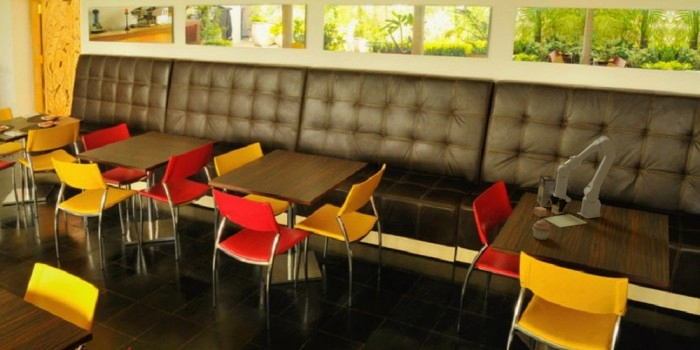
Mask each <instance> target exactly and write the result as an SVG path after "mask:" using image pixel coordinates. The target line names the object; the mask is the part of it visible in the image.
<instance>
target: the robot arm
mask: <svg viewBox="0 0 700 350" xmlns="http://www.w3.org/2000/svg"><path fill="white" fill-rule="evenodd" d="M594 152H603V154H604V156H603V158H602V160H601V162H600V164H599V166H598V168H597V170H596V172H595V173H594V176H593V177H592V180H591V181H590V182H589V183H588V185H587V186H586V187H584V189H583V190H582V191H583V194H584V196H583V197H582V203H581V209H580V211H579V212H577V213H576V214H577V215H579V216H581V217H583V218H586V219H591V218H592V219H593V218H600V217H601V215H600V212H601V209H602V208H601V206H602V204H601V203H602V202H601V201H600V199H599V195H600V192H601V186H602V184H603V182H604V180H605V179H606V176H607V174H608V172H609V170H610V168H611V167H612V165H613V163H614V161H615V159H616V157H617V155H616V154H617V153H616V145H615V144H614V142H613V140H611V138H609V136H607V135H601V136H599V137H598V138H596V139H595V140H594V141H593V142H592V143H591V144H589V145H588V146H587V147H586V148H585V149H584V150H582V151H581V152H580V153H579V154H578V155H573V156H572V155H570V157H569V159H568V160H567V161H565V162H562V164H560V165H559V166H558V167H557V168H556V171H557V175H556V179H555V187H554V191H553V190H550V191H549V194H552V196H550V199H551V201H552V205H555V204H559V212H563V210H564V211H565V208H566V206H567V205H568V204H569V203H571V202H572V201H571V198H570V197H569V196H568V195H567V188H568V179H569V176H570V174H571V172H572V171H574V170H575V169H577V168H578V167H579V166H580V165H582V162H583V160H585V159H586V158H587V157H589V156H591V155H592V154H594Z"/></svg>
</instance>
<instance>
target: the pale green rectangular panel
mask: <svg viewBox="0 0 700 350" xmlns="http://www.w3.org/2000/svg"><path fill="white" fill-rule="evenodd" d="M542 219H544V220H545V221H546V222H548V223H551V224H553V225H554V226H556V227H558V228H567V227H573V226H574V227H575V226H579V225H585V224H588V222H586V221H585V220H582V219H581V218H578V217H577V216H574V215H572V214H570V213H568V214H567V213H566V214H562V215H561V214H560V215H555V216H549V217H543V218H542Z"/></svg>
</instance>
